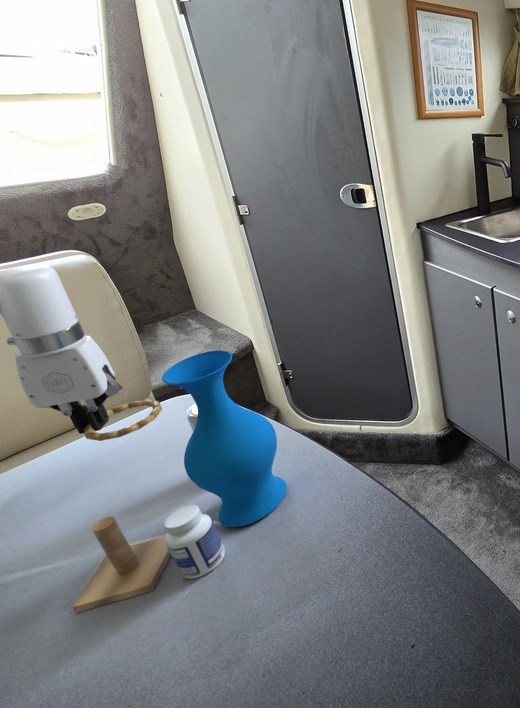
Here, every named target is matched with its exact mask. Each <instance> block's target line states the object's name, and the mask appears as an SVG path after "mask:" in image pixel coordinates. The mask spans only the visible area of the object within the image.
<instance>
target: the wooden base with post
mask: <svg viewBox="0 0 520 708" xmlns="http://www.w3.org/2000/svg"><path fill="white" fill-rule="evenodd" d="M91 532H92V533H93V535H94V537H95V538H96V540H97V541H98V543H99V545H100V547H101V548H102V550H103V551H104V553H105V556H104V557H103V559H102V561H101V562H100V564H99V565H98V566H97V568H96V570H95V571H94V573H92V576H91V577H90V579H89V580H88V582H87V584H86V585H85V587H84V588H83V590H82V591H81V593H80V594H79V596H78V598H76V600H75V601H74V604H73V605H72V606H71V608H72V610H73V612H74V613H75V614H78V613H81V612H85V611H87V610H91V609H95V608H97V607H101V606H105V605H108V604H112V603H115V602H118V601H122V600H125V599H129V598H133V597H136V596H139V595H143V594H146V593H150V592H153V591H154V590H155V588H156V586H157V584H158V583H159V580H160V578H161V576H162V574H163V573H164V570H165V569H166V566H167V564H168V562H169V561H170V559H171V557H172V555H171V553H170V551H169V549H168V547H167V546H166V543H165V538H166V535H165V536H161V537H158V538H154V539H149V540H146V541H141V542H138V543H134V544H131V545H130V543H129V541H128V539H127V538H126V536H125V533H124V532H123V530H122V529H121V527H120V525H119V524H118V522H117V520H116V518H115V517H114V516H107V517H103V518H102V519H100V520H98V521H97V522H95V523H94V524H93V525H92V527H91Z"/></svg>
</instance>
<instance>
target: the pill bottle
mask: <svg viewBox="0 0 520 708" xmlns="http://www.w3.org/2000/svg"><path fill="white" fill-rule="evenodd" d="M163 525H164V529H165V530H166V531H165V532H166V535H165V536H166V538H165V543H166V546H167V547H168V549H169V551H170V553H171V557H172V559H173V561H174V562H175V564H176V566H177V568H178V570H179V571H180V573H181V576H183V577H184V578H186V579H190V580H191V579H197V578H201V577H203V576H204V575H207V574H209V573H210V572H211V571H213V570H214V569H216V568H217V567H218V566H219V565H220V564H221V563H222V561H223V560H224V558H225V555H226V548H225V546H224V544H223V541H222V540H221V536H220V535H219V533H218V531H217V529H216V526H215V524H214V522H213V520H212V518H211V517H210V516H209V514H206V513H202V511H201V509H200V508H199V506H198V505H196V504H189V505H184V506H182V507H179V508H178V509H176V510H175V511H173V512H172V513H170V514H169V515H168V516H167V517H166V519H165V520H164V524H163Z"/></svg>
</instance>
